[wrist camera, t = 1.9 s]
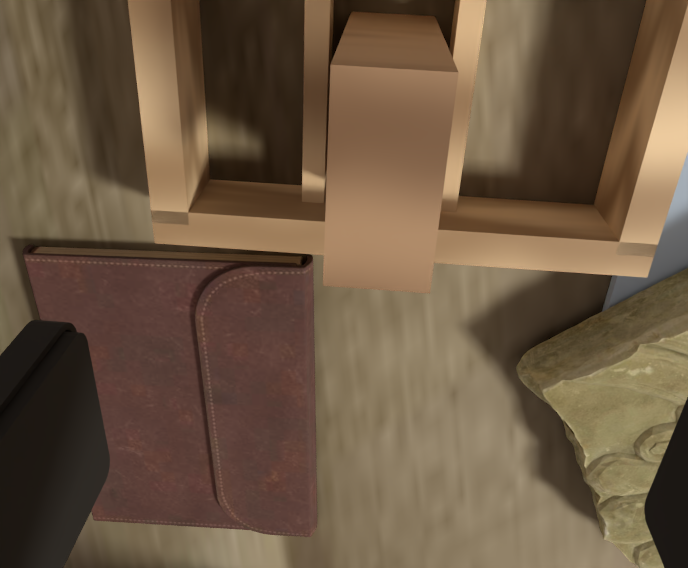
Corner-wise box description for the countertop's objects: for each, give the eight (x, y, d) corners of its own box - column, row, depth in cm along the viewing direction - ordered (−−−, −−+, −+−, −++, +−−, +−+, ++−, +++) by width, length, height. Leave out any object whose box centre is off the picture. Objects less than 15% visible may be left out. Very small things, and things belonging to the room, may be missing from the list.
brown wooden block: (417, 174, 31) (429, 293, 21) (344, 169, 31) (322, 285, 21) (434, 16, 27) (458, 72, 18) (351, 11, 27) (330, 64, 18)
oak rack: (619, 237, 32) (647, 277, 28) (180, 207, 32) (154, 243, 29) (763, -266, 22) (832, -299, 19) (136, -293, 23) (90, -330, 19)
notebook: (98, 501, 44) (86, 525, 42) (32, 240, 34) (13, 257, 33) (318, 514, 43) (315, 538, 42) (314, 250, 34) (310, 269, 32)
